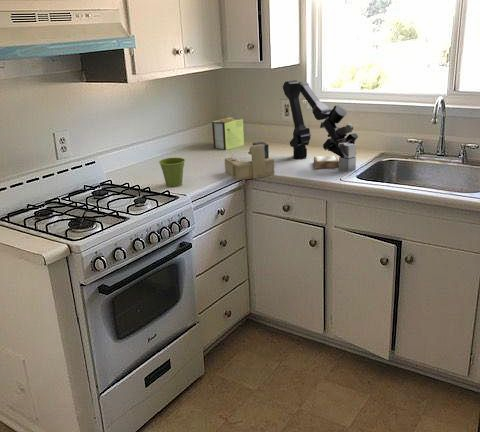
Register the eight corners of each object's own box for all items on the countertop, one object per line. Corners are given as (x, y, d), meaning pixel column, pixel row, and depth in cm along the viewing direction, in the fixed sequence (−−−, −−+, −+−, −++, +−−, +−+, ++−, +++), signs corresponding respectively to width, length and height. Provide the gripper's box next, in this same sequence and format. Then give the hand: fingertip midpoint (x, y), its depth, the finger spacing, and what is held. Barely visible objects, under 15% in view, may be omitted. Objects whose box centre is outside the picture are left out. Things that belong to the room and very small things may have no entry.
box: (269, 165, 269) (268, 144, 266) (258, 166, 267) (257, 145, 264) (263, 161, 276) (262, 141, 272) (252, 163, 274) (252, 142, 271)
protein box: (244, 145, 315) (243, 118, 310) (225, 150, 305) (224, 122, 299) (231, 143, 322) (230, 117, 316) (213, 148, 311) (211, 121, 306)
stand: (315, 168, 259) (315, 161, 258) (313, 162, 270) (313, 156, 269) (338, 167, 259) (338, 160, 258) (336, 161, 269) (336, 155, 268)
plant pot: (156, 187, 241) (153, 163, 237) (168, 180, 251) (166, 156, 247) (180, 189, 237) (177, 164, 233) (191, 181, 247) (189, 158, 243)
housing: (338, 169, 256) (339, 144, 252) (346, 167, 259) (346, 142, 255) (348, 171, 252) (348, 146, 247) (355, 169, 254) (356, 144, 250)
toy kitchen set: (259, 167, 267) (258, 137, 261) (275, 175, 252) (274, 143, 247) (224, 173, 260) (223, 142, 254) (239, 181, 245) (237, 148, 240)
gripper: (327, 121, 245) (345, 149, 241) (355, 116, 255) (373, 142, 251) (315, 136, 254) (332, 163, 249) (343, 130, 264) (359, 156, 259)
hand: (349, 155), depth 252 cm, fingers open, 8 cm apart
